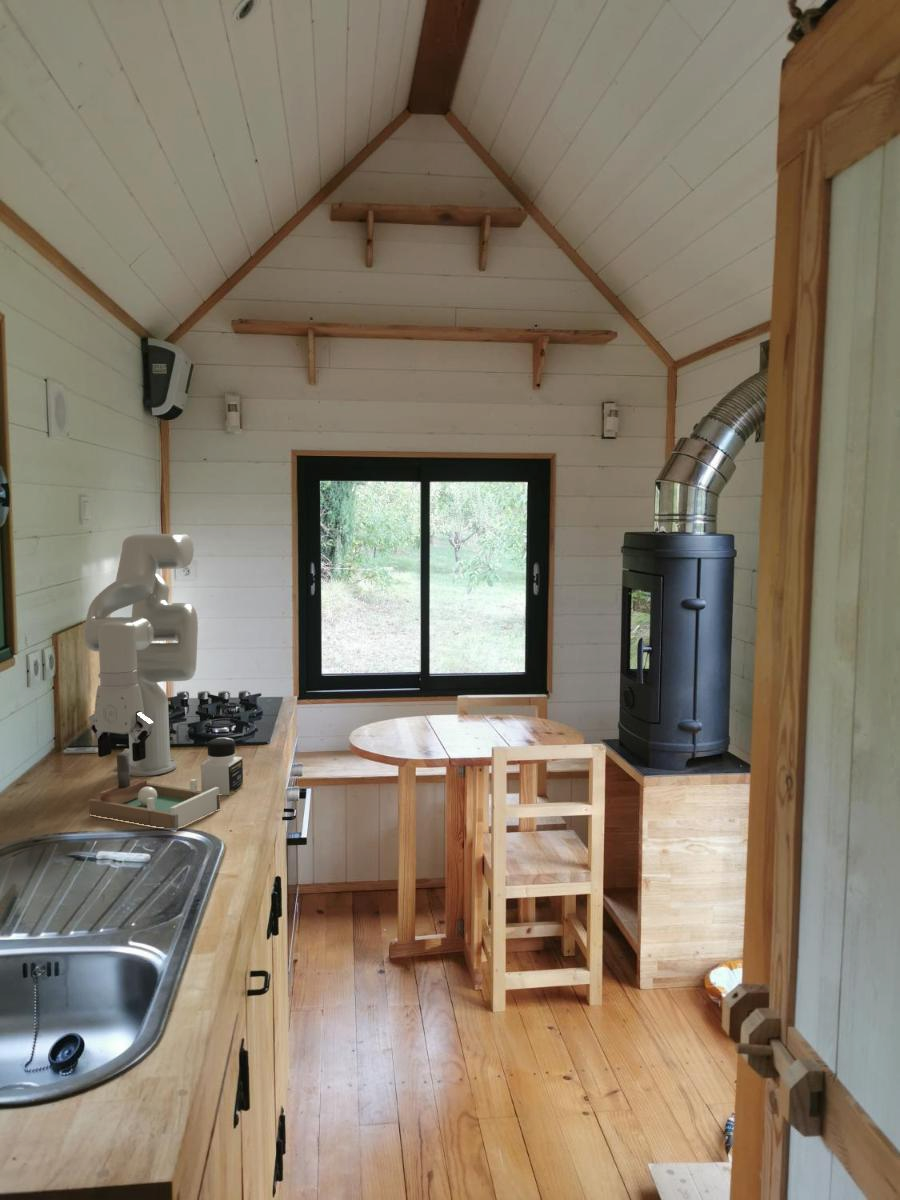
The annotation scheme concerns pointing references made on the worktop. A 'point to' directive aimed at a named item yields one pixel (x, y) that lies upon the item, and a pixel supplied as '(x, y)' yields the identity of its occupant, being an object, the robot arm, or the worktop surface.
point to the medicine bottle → (222, 767)
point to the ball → (146, 795)
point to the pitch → (162, 806)
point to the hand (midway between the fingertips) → (121, 757)
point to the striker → (123, 783)
